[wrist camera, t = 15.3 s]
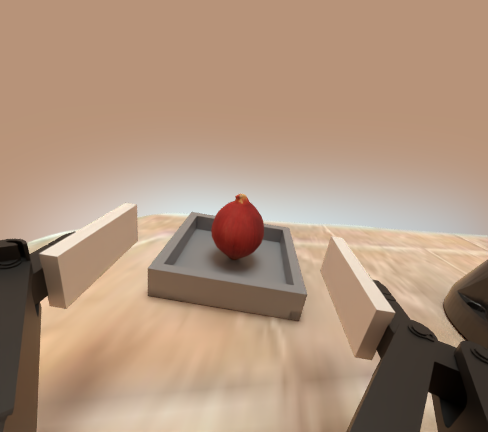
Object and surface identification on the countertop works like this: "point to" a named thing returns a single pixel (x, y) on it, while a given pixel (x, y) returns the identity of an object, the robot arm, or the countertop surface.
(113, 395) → the countertop surface
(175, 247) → the bin
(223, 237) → the onion
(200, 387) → the countertop surface
